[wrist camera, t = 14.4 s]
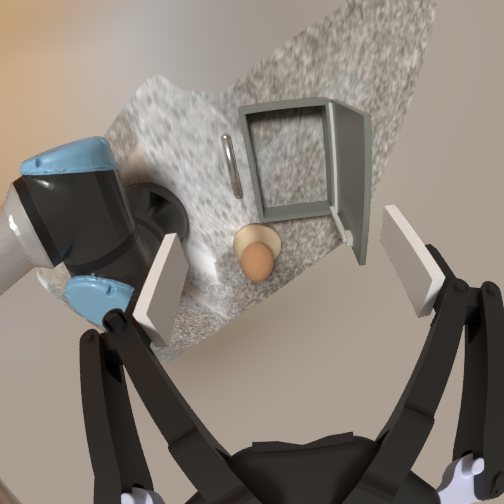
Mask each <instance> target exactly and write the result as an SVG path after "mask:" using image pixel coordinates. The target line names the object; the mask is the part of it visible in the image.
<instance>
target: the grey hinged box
mask: <svg viewBox="0 0 504 504" xmlns="http://www.w3.org/2000/svg"><path fill="white" fill-rule="evenodd" d="M319 105H321V113H322V122H323V133H324V145H325V159H326V175H327V196H328V200H327V201H318V202H310V203H301V204H293V205H285V206H277V207H270V208H263V202H262V197H261V191H260V185H259V180H258V174H257V169H256V163H255V158H254V152H253V147H252V141H251V136H250V131H249V125H248V120H247V115H246V114H249V113H256V112H262V111H270V110H277V109H286V108H295V107H306V106H319ZM238 112H239V117H240V122H241V127H242V132H243V138H244V143H245V148H246V153H247V158H248V163H249V168H250V174H251V179H252V184H253V189H254V195H255V200H256V205H257V211H258V216H259V221H260V223H267V222H274V221H282V220H290V219H298V218H306V217H314V216H322V215H332V217H333V219H334V222H335V224H336V226H337V229H338V231H339V234H340V236H341V238H342V241H343V242H345V243H346V246H347V247H348V246H351V247H352V249H353V251H354V254H355V256H356V258H357V261H358V263H359V265H365V262H366V253H367V243H368V232H369V220H370V204H371V181H372V128H371V115H369V114H367V113H365V112H363V111H360V110H358V109H356V108H354V107H352V106H350V105H348V104H346V103H343V102H341V101H339V100H337V99H334V100H331V99H328V98H326V97H315V98H302V99H292V100H283V101H274V102H267V103H260V104H253V105H247V106H241V107H239V109H238Z"/></svg>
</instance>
